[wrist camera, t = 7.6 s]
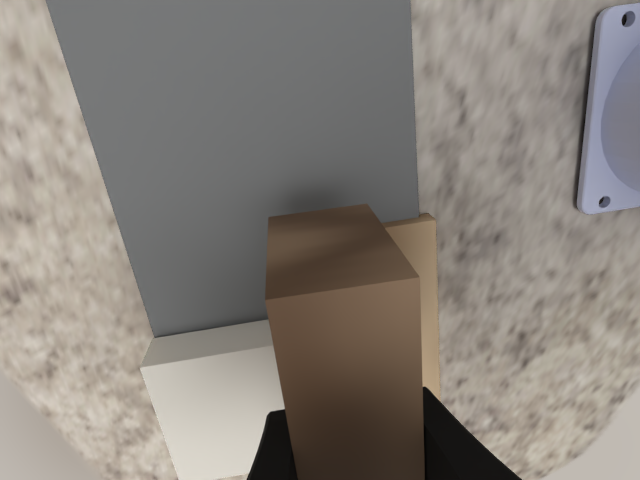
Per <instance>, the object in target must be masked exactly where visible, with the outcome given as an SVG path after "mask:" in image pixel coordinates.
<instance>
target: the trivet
mask: <svg viewBox="0 0 640 480" xmlns="http://www.w3.org/2000/svg"><path fill="white" fill-rule="evenodd" d="M381 224H382V225H383V226H384V228H385V229H386V230H387V232H388V233H389V235H390V236H391V237H392V239H393V240H394V242H395V243H396V244H397V246H398V247H399V249H400V250H401V251H402V253H403V254H404V256H405V257H406V258H407V260H408V261H409V263H410V264H411V265H412V267H413V268H414V270H415V271H416V272H417V274H418V275H419V277H420V298H421V340H422V382H423V387H424V386H425V387H427V388H428V389H429V390H430V391H431V392H432V393H433V394H434V395H435V396H436V398H437V399H438V400H439V401H440V362H439V322H438V283H437V243H436V220H435V219H434V218H433V217H432V216H431V215H430V214H429V213H427V214H421V215H419V217H418V218H411V219H405V220H398V221H392V222H386V223H381ZM440 402H441V401H440Z"/></svg>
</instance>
